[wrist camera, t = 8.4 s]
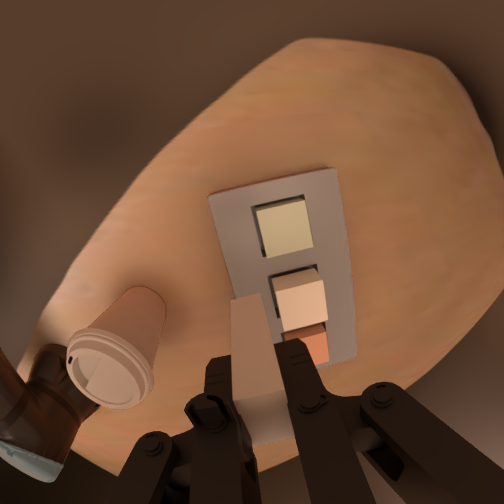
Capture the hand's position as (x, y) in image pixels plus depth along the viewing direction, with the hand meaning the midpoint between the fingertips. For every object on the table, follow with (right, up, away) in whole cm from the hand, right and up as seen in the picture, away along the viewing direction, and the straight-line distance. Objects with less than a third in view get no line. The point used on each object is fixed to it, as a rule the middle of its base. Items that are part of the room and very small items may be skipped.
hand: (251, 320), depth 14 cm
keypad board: (+5, 0, +21) cm, 22 cm away
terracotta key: (+7, -8, +23) cm, 25 cm away
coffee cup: (-15, -4, +22) cm, 26 cm away
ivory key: (+5, -1, +18) cm, 19 cm away
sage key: (+3, +7, +18) cm, 19 cm away
